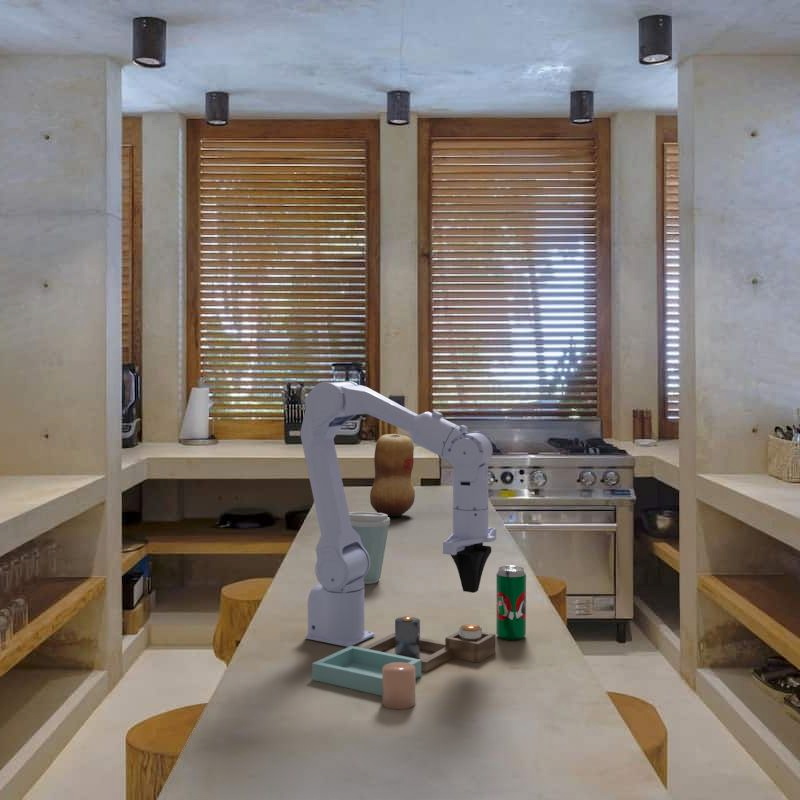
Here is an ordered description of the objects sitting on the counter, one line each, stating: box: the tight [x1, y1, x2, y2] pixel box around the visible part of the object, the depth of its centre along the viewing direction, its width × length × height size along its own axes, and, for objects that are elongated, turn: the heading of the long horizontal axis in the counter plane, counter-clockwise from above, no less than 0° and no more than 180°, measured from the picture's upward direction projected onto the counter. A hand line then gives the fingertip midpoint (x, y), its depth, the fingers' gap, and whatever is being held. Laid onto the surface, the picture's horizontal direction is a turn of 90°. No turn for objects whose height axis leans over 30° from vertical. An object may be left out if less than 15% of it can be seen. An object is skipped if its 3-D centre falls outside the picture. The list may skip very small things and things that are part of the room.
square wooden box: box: [444, 630, 497, 664], centre depth 150 cm, size 6×6×3 cm
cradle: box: [362, 632, 453, 673], centre depth 149 cm, size 12×10×2 cm
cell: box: [394, 615, 421, 659], centre depth 149 cm, size 4×4×6 cm
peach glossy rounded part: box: [382, 662, 416, 710], centre depth 129 cm, size 5×5×5 cm
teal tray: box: [311, 645, 422, 697], centre depth 139 cm, size 13×10×2 cm
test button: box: [458, 623, 483, 642], centre depth 150 cm, size 4×4×3 cm
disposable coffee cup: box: [349, 511, 391, 585], centre depth 200 cm, size 11×11×15 cm
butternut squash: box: [369, 433, 416, 518], centre depth 280 cm, size 14×13×25 cm
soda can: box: [495, 565, 527, 642], centre depth 159 cm, size 5×5×12 cm
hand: (470, 591), depth 150 cm, fingers closed
